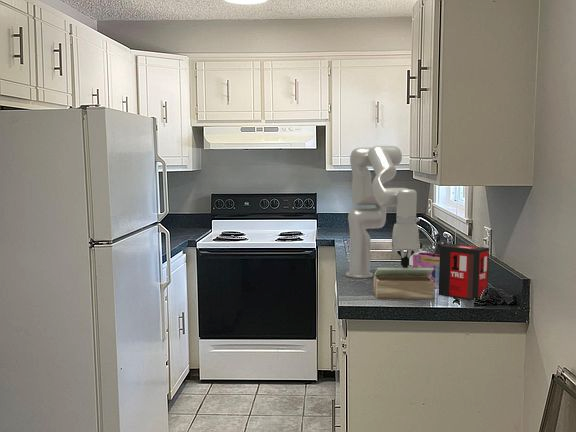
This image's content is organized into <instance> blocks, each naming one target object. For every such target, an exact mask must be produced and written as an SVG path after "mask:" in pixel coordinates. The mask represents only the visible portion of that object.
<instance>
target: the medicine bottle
mask: <svg viewBox="0 0 576 432" xmlns="http://www.w3.org/2000/svg"><path fill="white" fill-rule="evenodd" d="M419 252H423V253H426V251H425V250H423V242H422V241H419ZM419 252H418V253H419ZM418 253H414V254H415V255H418ZM410 265H411V266H412V267H413V255H412V256H411V257H410V258H409V265H408V266H410Z"/></svg>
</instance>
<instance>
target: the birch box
mask: <svg viewBox="0 0 576 432" xmlns="http://www.w3.org/2000/svg"><path fill="white" fill-rule="evenodd" d="M434 289H435V288H434V281H433V280H432V279H430V278H429V277H428V276H374V275H373V289H372V291H373V295H374V297H376V299H377V300H378V299H379V300H380V299H381V300H385V299H386V300H390V299H391V300H414V299H415V300H433V299H434V295H435V294H434V292H435V291H434Z"/></svg>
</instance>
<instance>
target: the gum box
mask: <svg viewBox="0 0 576 432" xmlns="http://www.w3.org/2000/svg"><path fill="white" fill-rule="evenodd" d="M439 263H440V254H433V253H430V252H425V253H423V252H419V253H418V255H415V254H413V266H412V268H433V271H432V272H431V273H430V274H429V275H428V277H429V278H430V279H432V280H433V281H434V289H436V290H437V289H438V290H439Z"/></svg>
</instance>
